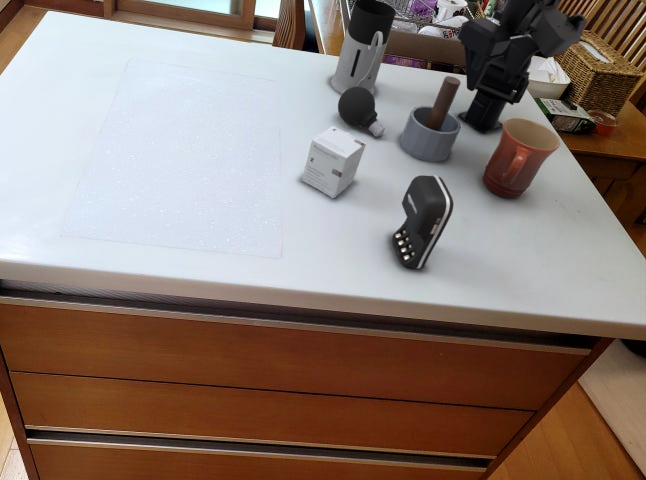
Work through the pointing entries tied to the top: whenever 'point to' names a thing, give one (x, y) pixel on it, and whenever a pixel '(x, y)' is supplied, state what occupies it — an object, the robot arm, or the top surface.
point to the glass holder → (363, 45)
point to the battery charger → (422, 219)
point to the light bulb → (360, 109)
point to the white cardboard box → (333, 161)
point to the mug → (518, 157)
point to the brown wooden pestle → (442, 103)
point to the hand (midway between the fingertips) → (488, 85)
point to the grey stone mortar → (429, 135)
